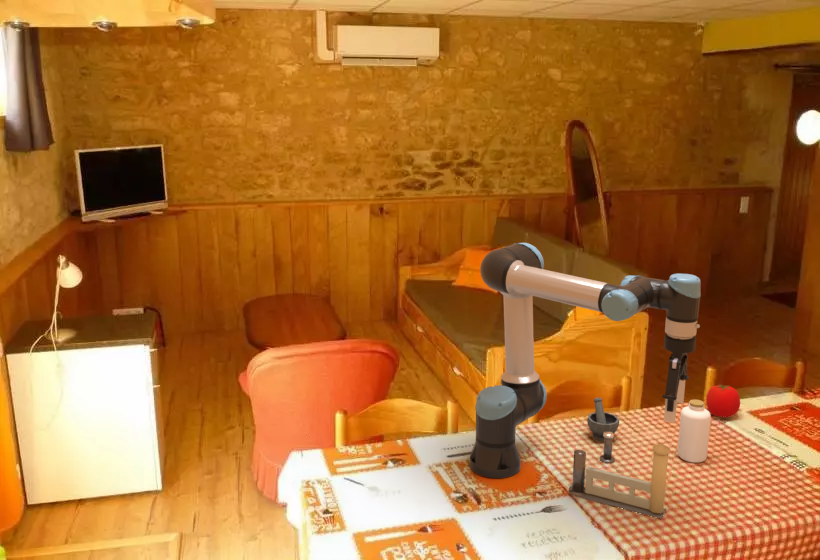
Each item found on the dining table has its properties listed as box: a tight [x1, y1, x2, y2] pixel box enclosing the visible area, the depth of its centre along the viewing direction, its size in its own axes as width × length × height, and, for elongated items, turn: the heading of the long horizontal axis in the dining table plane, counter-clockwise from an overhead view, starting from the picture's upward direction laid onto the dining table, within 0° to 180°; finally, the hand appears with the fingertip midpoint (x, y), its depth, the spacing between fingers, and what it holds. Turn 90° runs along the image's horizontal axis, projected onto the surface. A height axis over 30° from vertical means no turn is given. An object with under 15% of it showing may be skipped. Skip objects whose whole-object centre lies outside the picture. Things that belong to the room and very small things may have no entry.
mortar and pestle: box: [586, 397, 620, 443], centre depth 228 cm, size 11×9×12 cm
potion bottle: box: [677, 399, 712, 464], centre depth 214 cm, size 8×8×18 cm
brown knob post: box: [568, 449, 587, 498], centre depth 196 cm, size 5×5×12 cm
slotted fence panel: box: [584, 444, 671, 513], centre depth 189 cm, size 21×4×18 cm, turn 59°
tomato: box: [705, 383, 741, 419], centre depth 243 cm, size 10×11×11 cm
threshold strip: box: [571, 493, 667, 520], centre depth 192 cm, size 24×5×1 cm, turn 59°
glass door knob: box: [599, 432, 616, 464], centre depth 214 cm, size 4×4×9 cm
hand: (673, 411), depth 187 cm, fingers open, 13 cm apart
